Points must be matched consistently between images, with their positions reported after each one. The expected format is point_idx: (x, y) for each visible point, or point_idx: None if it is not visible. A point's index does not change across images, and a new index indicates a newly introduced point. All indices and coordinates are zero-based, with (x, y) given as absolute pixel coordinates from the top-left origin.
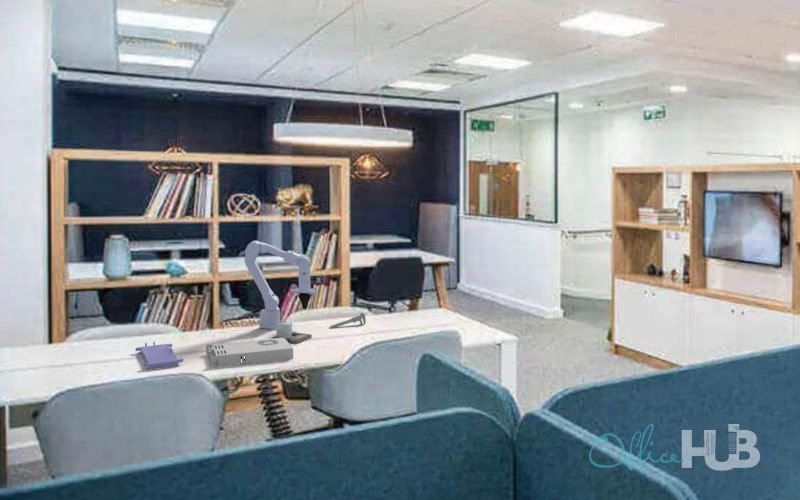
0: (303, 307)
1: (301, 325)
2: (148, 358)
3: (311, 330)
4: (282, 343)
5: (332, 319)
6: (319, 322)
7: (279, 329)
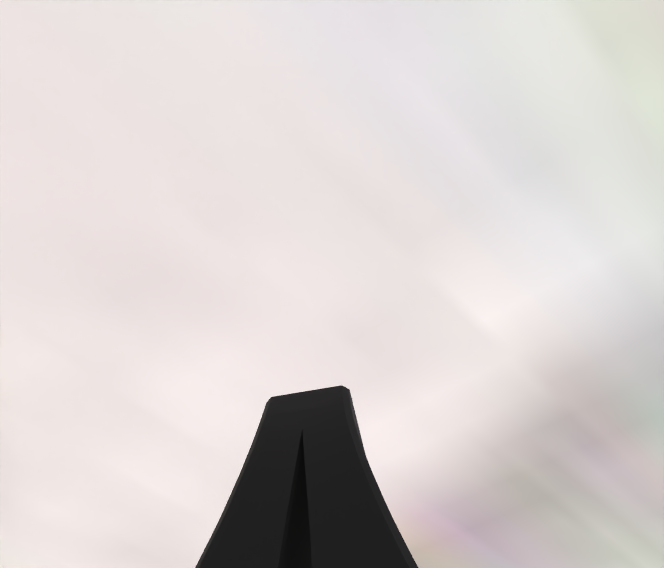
0: (310, 411)
1: (428, 223)
2: None
3: (27, 74)
4: None
5: None
6: None
7: None
